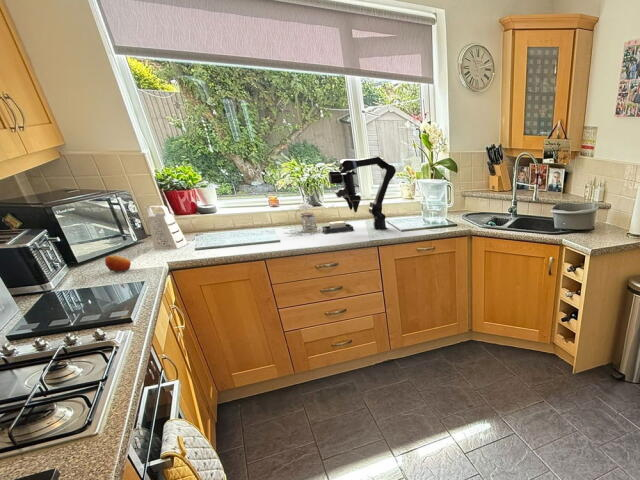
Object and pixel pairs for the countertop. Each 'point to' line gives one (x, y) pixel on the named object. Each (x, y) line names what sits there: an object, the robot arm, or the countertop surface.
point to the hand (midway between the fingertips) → (353, 211)
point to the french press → (309, 217)
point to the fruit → (117, 263)
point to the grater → (165, 230)
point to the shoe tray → (337, 229)
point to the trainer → (337, 224)
